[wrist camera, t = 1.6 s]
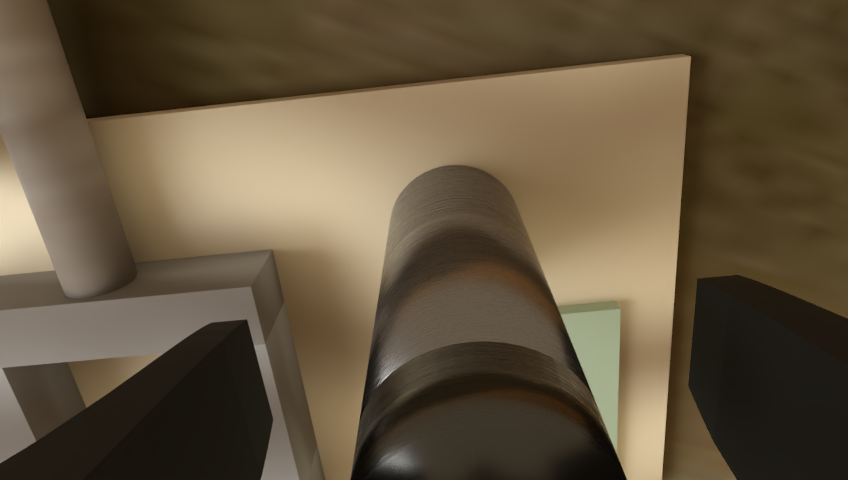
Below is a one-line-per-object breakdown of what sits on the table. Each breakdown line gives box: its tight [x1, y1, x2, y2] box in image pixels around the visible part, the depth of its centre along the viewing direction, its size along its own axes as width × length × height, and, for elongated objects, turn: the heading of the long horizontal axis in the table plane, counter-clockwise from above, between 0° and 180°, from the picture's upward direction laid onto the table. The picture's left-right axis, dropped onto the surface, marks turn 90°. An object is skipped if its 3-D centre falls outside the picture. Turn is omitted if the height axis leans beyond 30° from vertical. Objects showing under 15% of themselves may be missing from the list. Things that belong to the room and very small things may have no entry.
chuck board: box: [0, 0, 691, 480], centre depth 14 cm, size 17×19×2 cm
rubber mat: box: [557, 301, 621, 453], centre depth 17 cm, size 6×6×1 cm
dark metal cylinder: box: [350, 165, 627, 480], centre depth 11 cm, size 3×3×9 cm
